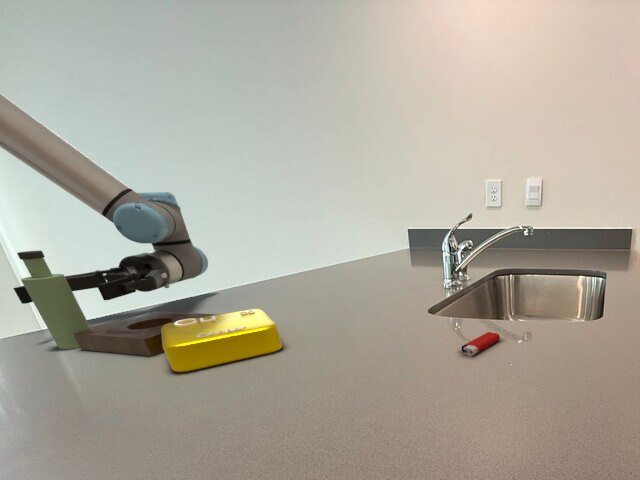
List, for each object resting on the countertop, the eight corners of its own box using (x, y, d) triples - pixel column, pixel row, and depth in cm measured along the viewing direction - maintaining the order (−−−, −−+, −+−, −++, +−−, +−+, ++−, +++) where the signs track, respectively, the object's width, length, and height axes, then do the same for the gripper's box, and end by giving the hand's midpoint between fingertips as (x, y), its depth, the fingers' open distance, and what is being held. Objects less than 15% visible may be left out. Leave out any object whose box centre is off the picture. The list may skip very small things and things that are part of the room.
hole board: (81, 349, 70) (72, 333, 69) (161, 325, 82) (155, 310, 81) (151, 356, 67) (143, 339, 65) (225, 329, 79) (219, 314, 77)
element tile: (173, 375, 59) (160, 345, 57) (170, 348, 70) (158, 321, 68) (285, 350, 67) (277, 322, 65) (267, 329, 78) (259, 304, 76)
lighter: (500, 333, 68) (472, 349, 62) (500, 340, 69) (473, 357, 63) (486, 331, 70) (458, 346, 64) (486, 338, 70) (458, 354, 64)
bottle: (51, 348, 71) (-2, 254, 64) (84, 338, 76) (38, 249, 69) (71, 350, 70) (20, 254, 63) (104, 340, 75) (59, 249, 67)
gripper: (215, 286, 92) (145, 312, 73) (99, 290, 90) (-3, 318, 71) (203, 251, 88) (127, 269, 69) (82, 255, 87) (-29, 275, 68)
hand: (61, 294), depth 70 cm, fingers open, 13 cm apart
